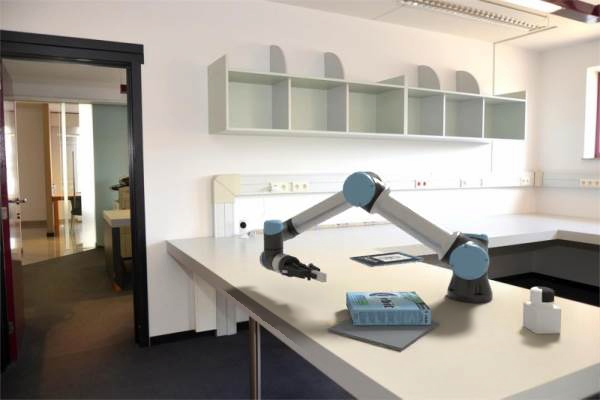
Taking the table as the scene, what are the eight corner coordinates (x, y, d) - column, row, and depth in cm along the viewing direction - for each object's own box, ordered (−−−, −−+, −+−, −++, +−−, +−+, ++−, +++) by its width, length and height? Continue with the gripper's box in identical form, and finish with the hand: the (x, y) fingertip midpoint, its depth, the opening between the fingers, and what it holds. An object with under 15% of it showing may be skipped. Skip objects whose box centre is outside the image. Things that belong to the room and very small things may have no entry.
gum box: (352, 325, 131) (431, 326, 130) (352, 308, 130) (431, 308, 130) (346, 305, 150) (415, 306, 150) (346, 290, 150) (415, 290, 149)
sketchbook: (349, 260, 231) (349, 255, 231) (398, 254, 242) (398, 250, 242) (372, 268, 211) (372, 263, 211) (424, 262, 223) (424, 257, 222)
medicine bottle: (546, 324, 132) (547, 284, 131) (561, 333, 125) (562, 291, 124) (522, 325, 132) (523, 285, 131) (535, 334, 125) (537, 291, 124)
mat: (438, 324, 133) (438, 322, 133) (401, 351, 115) (401, 348, 115) (370, 310, 148) (370, 307, 148) (327, 331, 129) (327, 328, 129)
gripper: (301, 272, 169) (340, 286, 150) (271, 277, 162) (308, 292, 143) (301, 253, 169) (340, 264, 149) (271, 257, 162) (307, 269, 142)
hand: (324, 278), depth 146 cm, fingers closed
